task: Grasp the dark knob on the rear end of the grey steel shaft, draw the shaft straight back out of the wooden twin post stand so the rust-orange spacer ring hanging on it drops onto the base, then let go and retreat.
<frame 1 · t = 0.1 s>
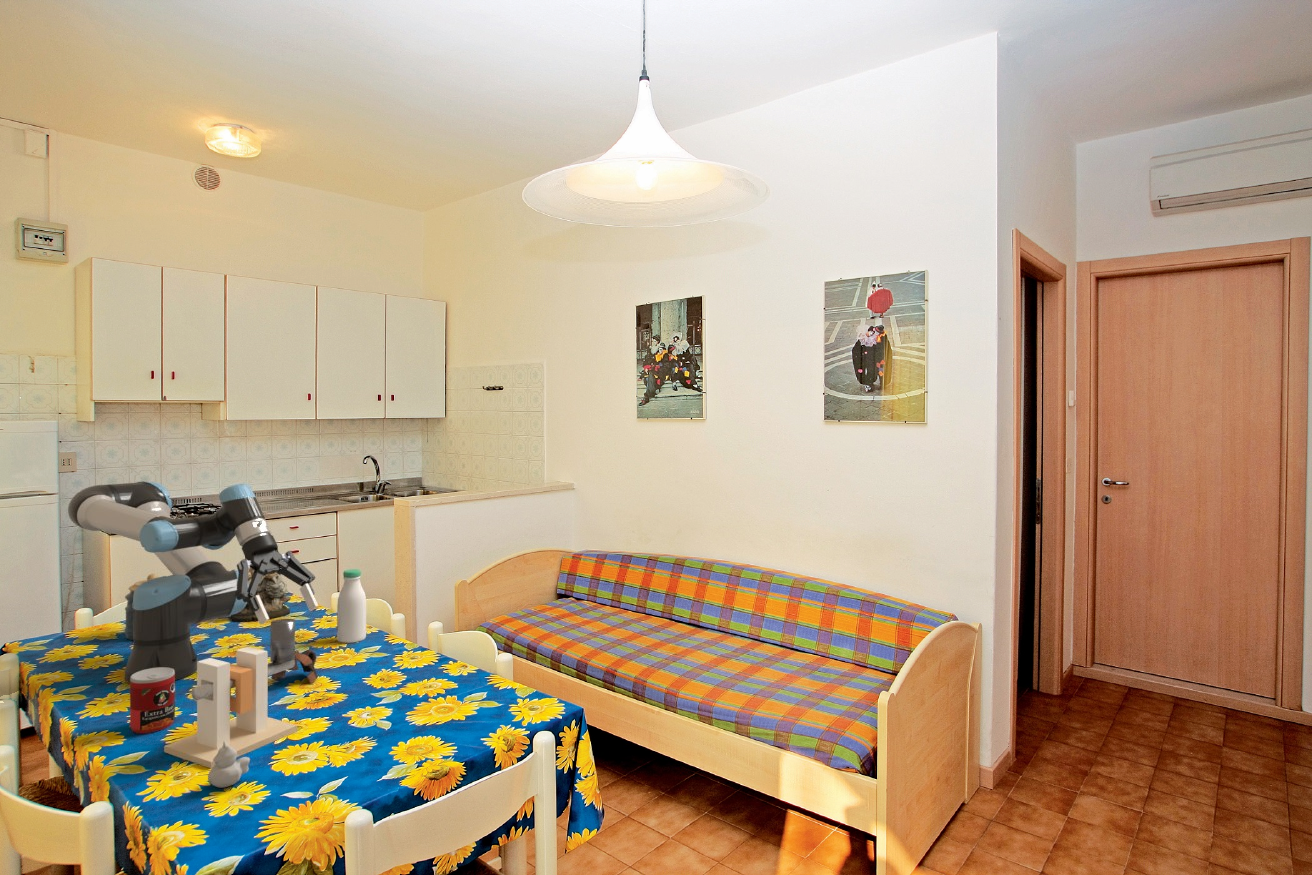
hand: (290, 615, 180), 15 cm above the table, tool tilted 35°, fingers open, 13 cm apart
shaft: (246, 657, 148), point 16 cm above the table, slide at 0.0 cm, touching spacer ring
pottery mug: (297, 680, 179), on the table
owl figurine: (259, 617, 233), on the table
canned food: (152, 726, 152), on the table
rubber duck: (229, 784, 129), on the table
wooden twin post stand: (233, 741, 145), on the table
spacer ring: (233, 707, 145), point 7 cm above the table, touching shaft
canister: (152, 635, 213), on the table
milk bottle: (351, 640, 211), on the table
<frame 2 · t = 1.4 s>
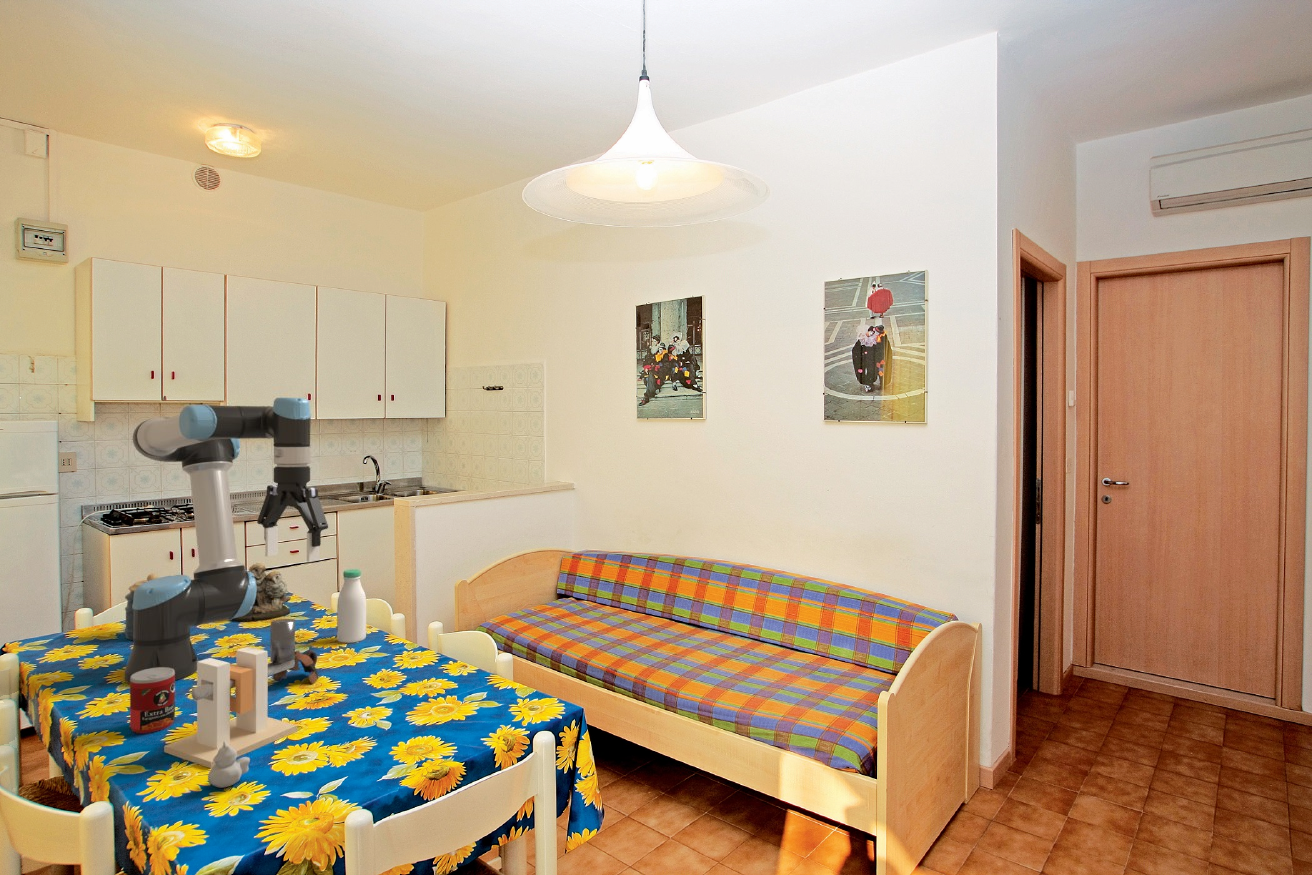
hand: (292, 558, 168), 32 cm above the table, tool pointing down, fingers open, 13 cm apart
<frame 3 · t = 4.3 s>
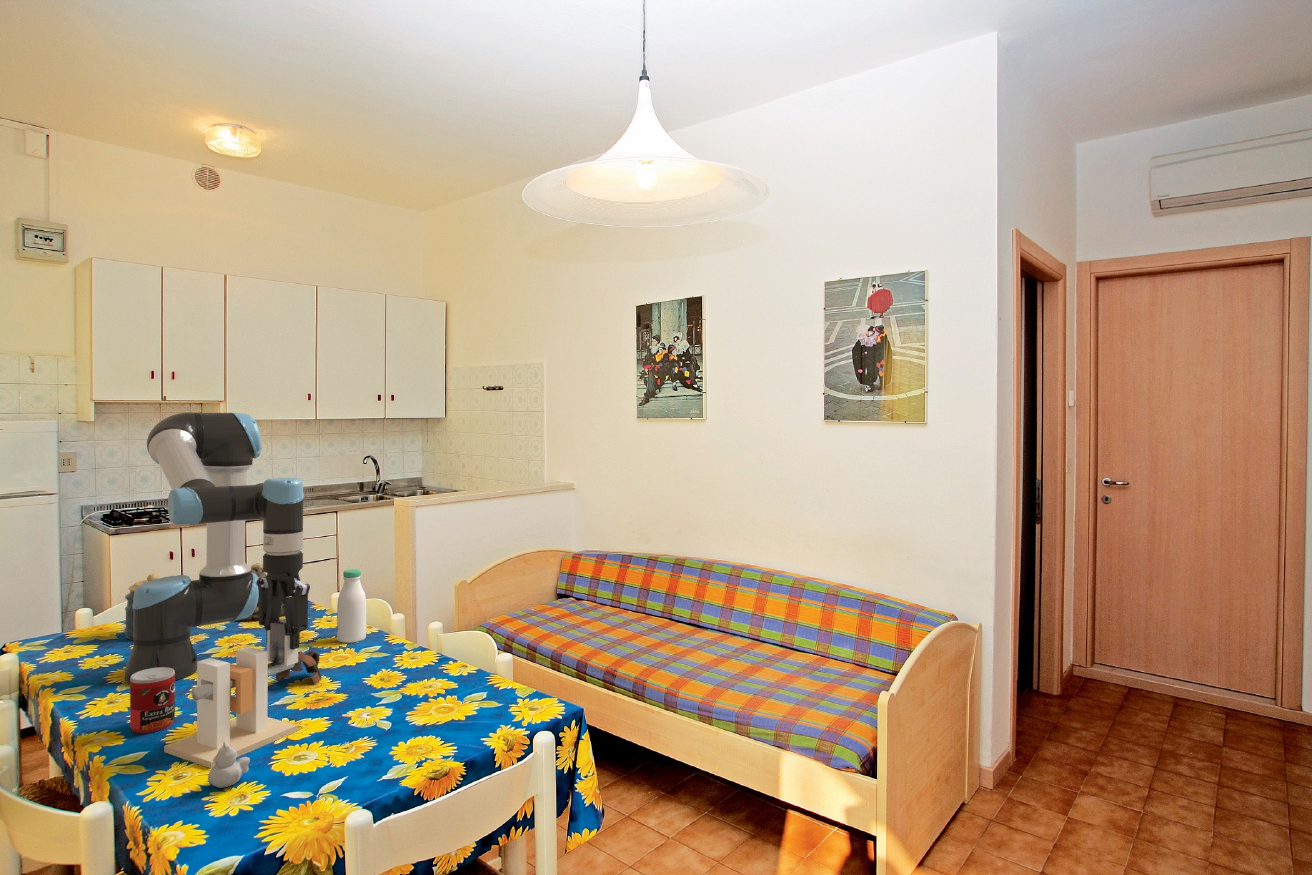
hand: (282, 661, 155), 13 cm above the table, tool pointing down, fingers closed on shaft, 5 cm apart
shaft: (246, 657, 148), point 16 cm above the table, slide at 0.0 cm, touching gripper, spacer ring
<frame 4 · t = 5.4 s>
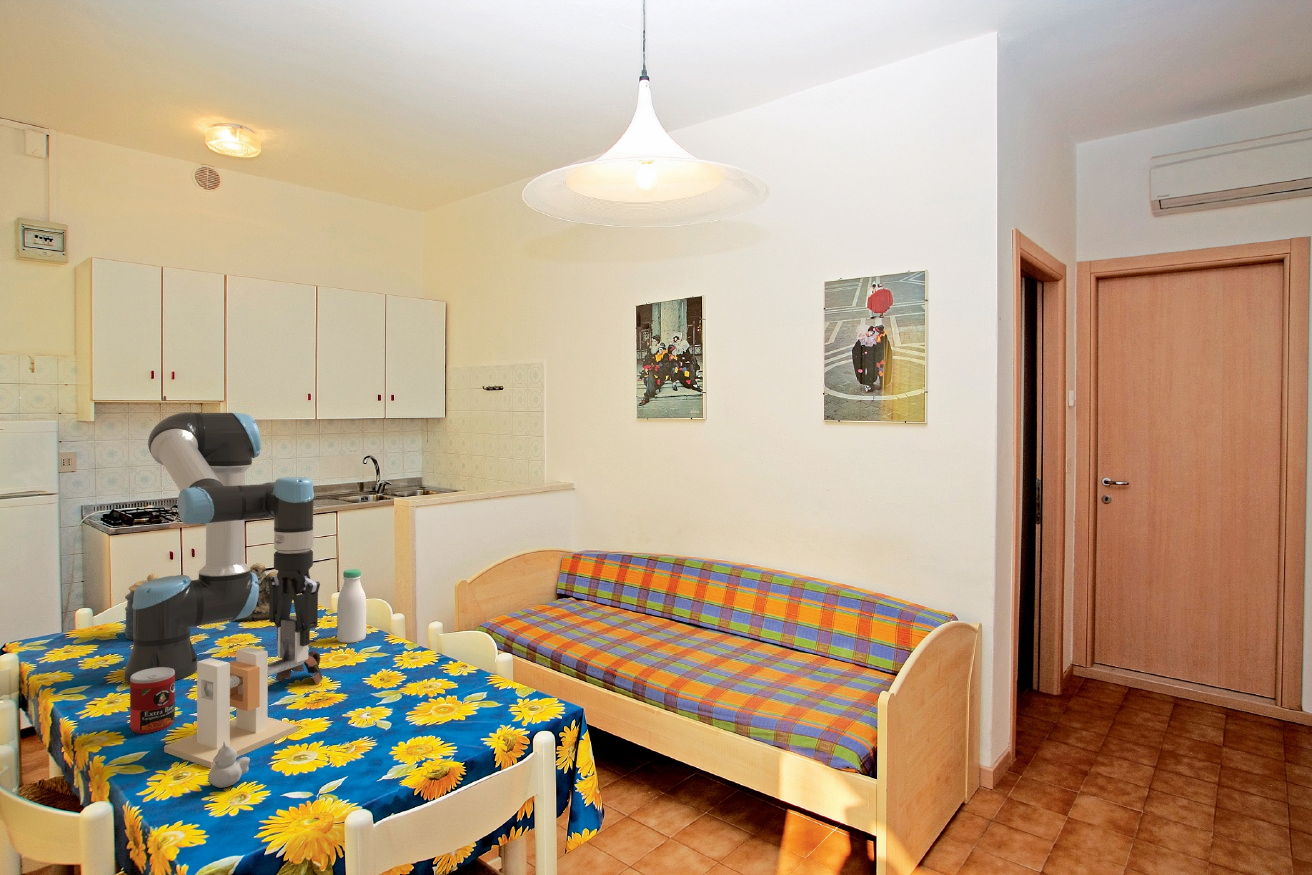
hand: (292, 658, 157), 13 cm above the table, tool pointing down, fingers closed on shaft, 5 cm apart
shaft: (258, 653, 150), point 16 cm above the table, slide at 2.5 cm, touching gripper
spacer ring: (240, 705, 147), point 7 cm above the table, touching wooden twin post stand
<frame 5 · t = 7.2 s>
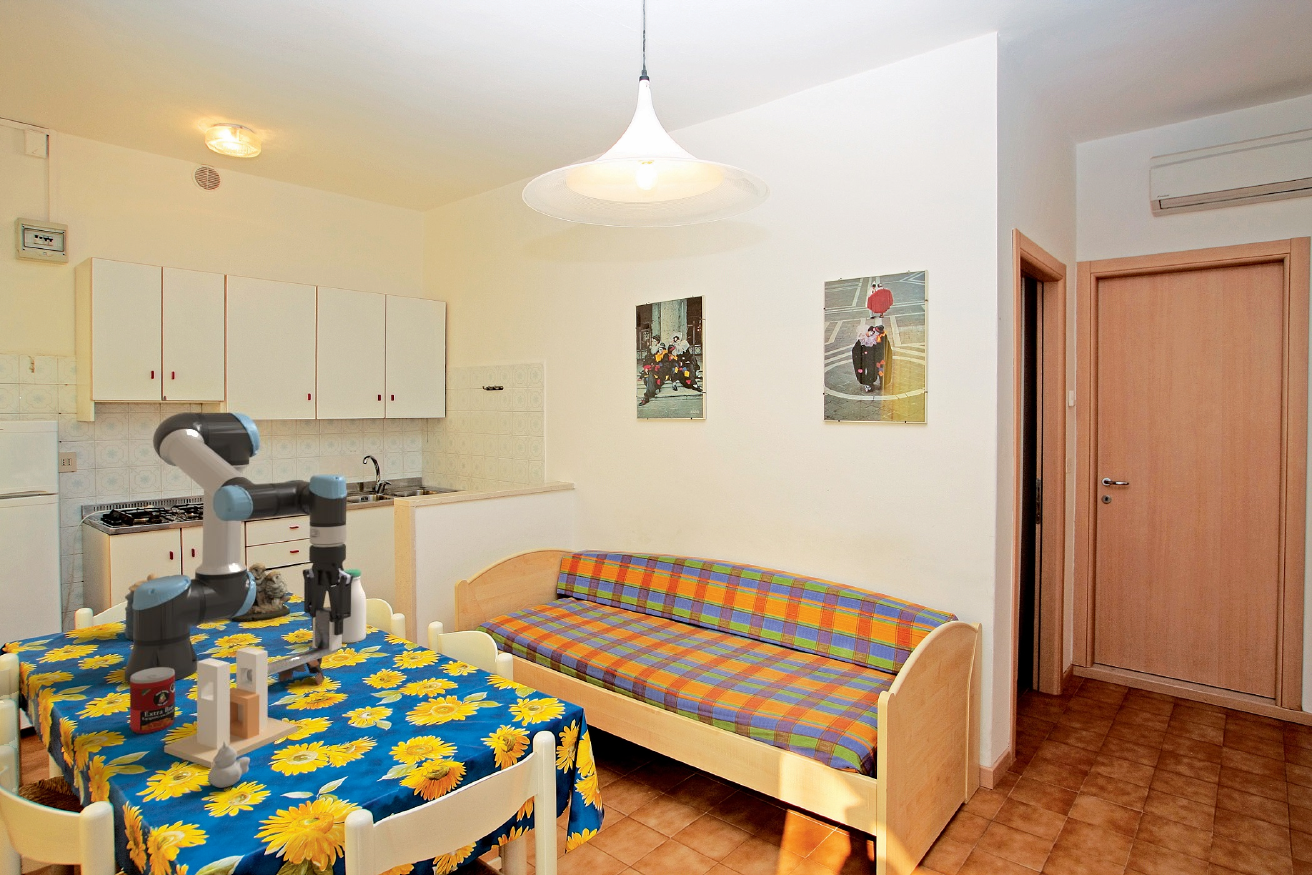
hand: (327, 646, 165), 13 cm above the table, tool pointing down, fingers closed on shaft, 5 cm apart
shaft: (295, 642, 158), point 16 cm above the table, slide at 11.2 cm, touching gripper
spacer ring: (240, 732, 147), point 1 cm above the table, touching wooden twin post stand
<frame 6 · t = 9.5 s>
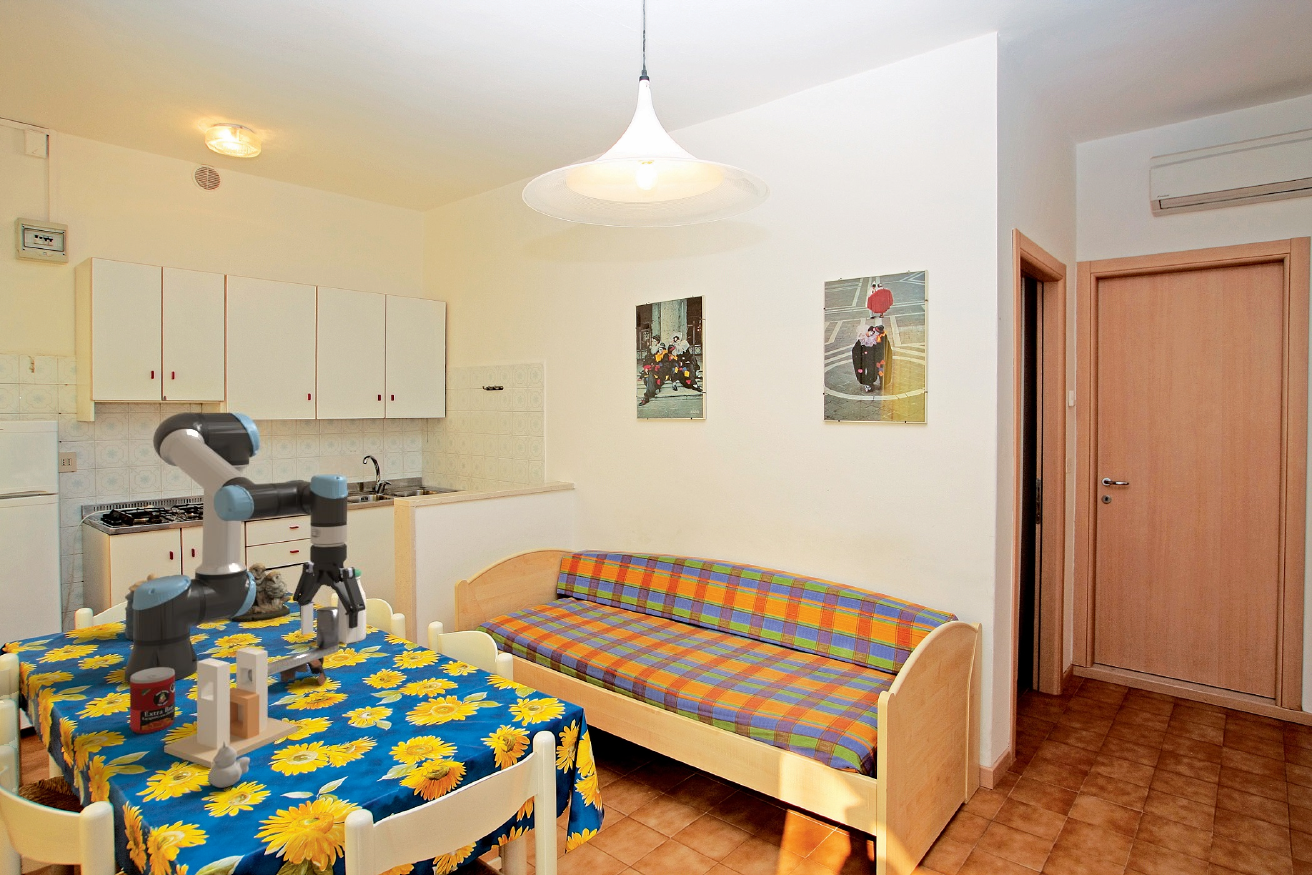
hand: (328, 637, 165), 15 cm above the table, tool pointing down, fingers open, 13 cm apart
shaft: (296, 641, 158), point 16 cm above the table, slide at 11.4 cm
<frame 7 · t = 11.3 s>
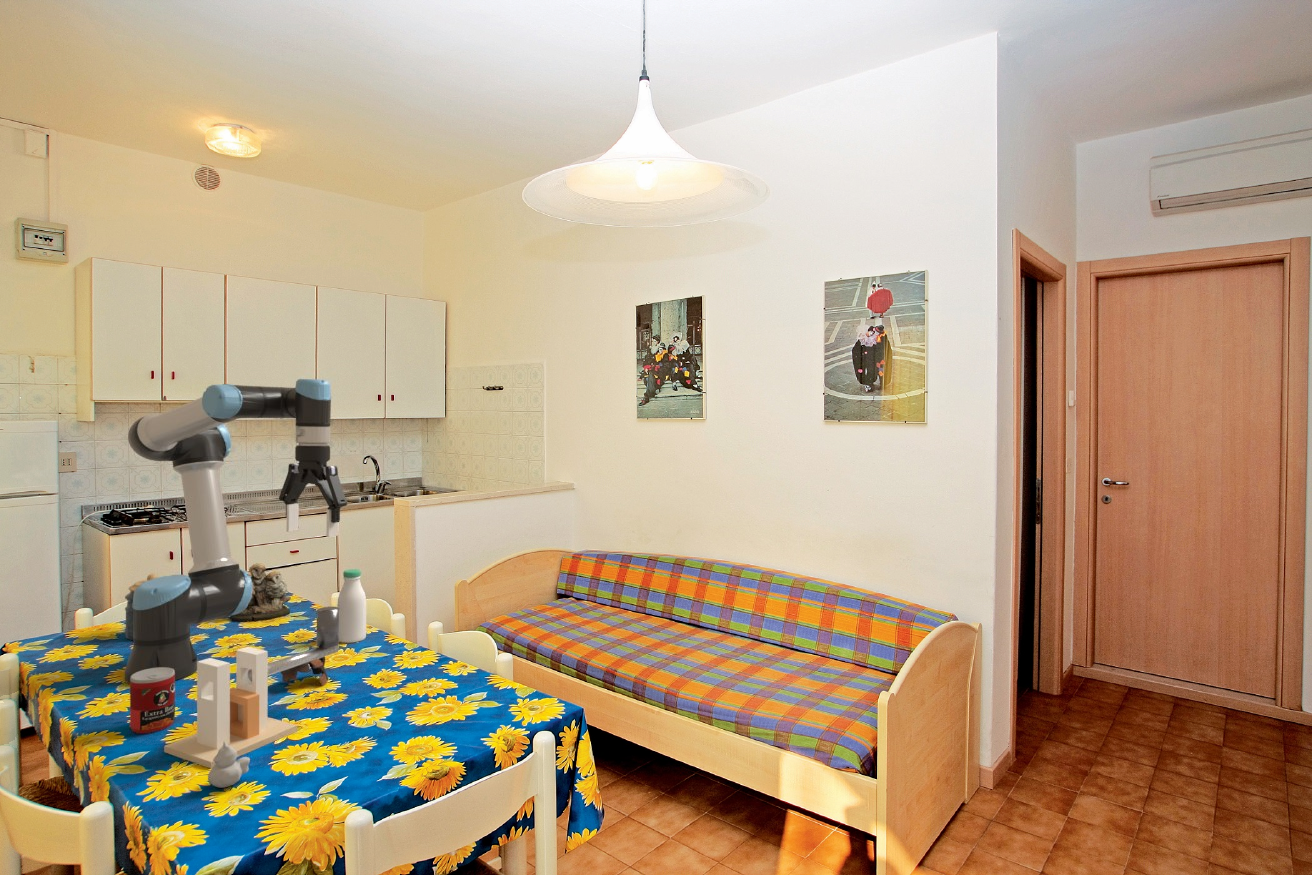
hand: (312, 533, 174), 36 cm above the table, tool pointing down, fingers open, 13 cm apart
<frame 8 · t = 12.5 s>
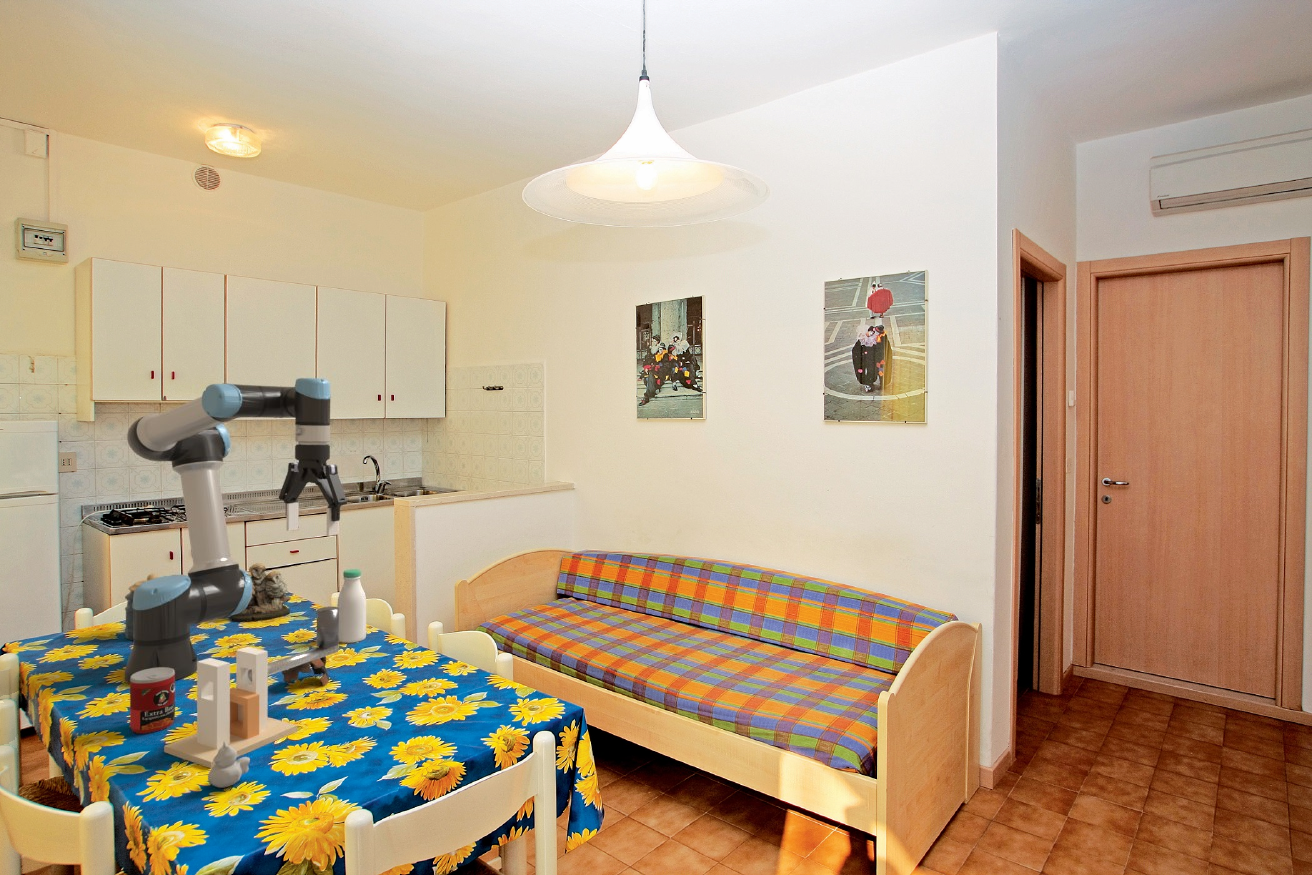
hand: (312, 532, 175), 37 cm above the table, tool pointing down, fingers open, 13 cm apart
at the end: shaft slide at 11.4 cm; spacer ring point 1.2 cm above the table; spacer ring 1.4 cm from the wooden twin post stand (horizontally) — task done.
